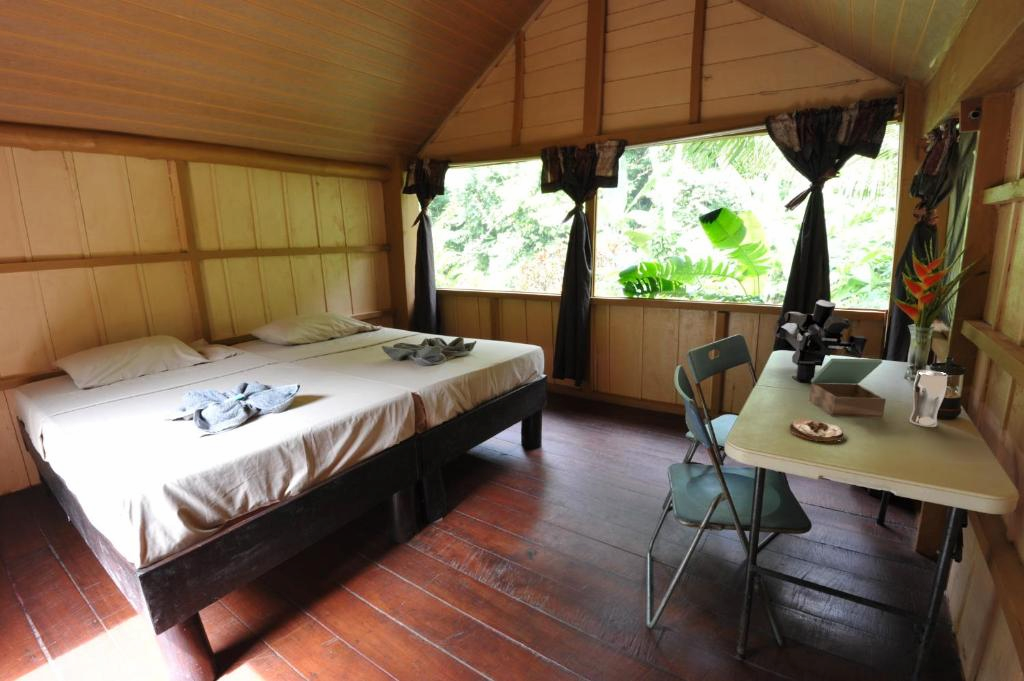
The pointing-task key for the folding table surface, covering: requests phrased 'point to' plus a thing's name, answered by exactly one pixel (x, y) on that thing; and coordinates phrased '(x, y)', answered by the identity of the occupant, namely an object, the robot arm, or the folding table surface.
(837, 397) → the walnut box
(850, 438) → the folding table surface
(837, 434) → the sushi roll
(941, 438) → the folding table surface
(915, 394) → the beer glass
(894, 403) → the folding table surface
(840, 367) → the lid
